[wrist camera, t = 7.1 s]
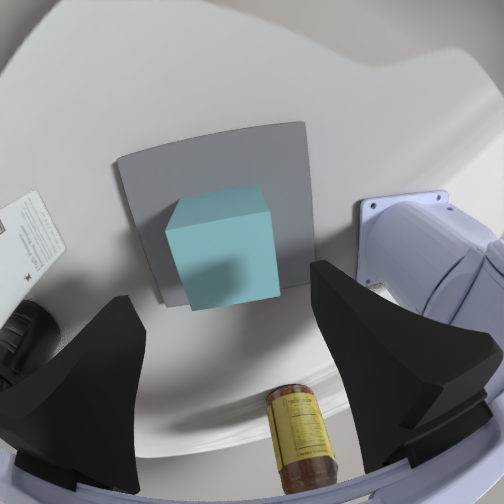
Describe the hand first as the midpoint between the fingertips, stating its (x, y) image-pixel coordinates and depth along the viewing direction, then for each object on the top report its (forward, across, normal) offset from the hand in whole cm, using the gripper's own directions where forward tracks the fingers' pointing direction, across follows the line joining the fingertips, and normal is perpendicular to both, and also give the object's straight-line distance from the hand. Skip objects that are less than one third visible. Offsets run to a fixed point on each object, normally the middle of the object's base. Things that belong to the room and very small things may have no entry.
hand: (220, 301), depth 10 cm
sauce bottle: (+10, -3, +25) cm, 27 cm away
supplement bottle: (+10, +23, +7) cm, 26 cm away
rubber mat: (+10, 0, +1) cm, 10 cm away
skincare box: (+10, +16, -2) cm, 19 cm away
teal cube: (+8, 0, +1) cm, 9 cm away
